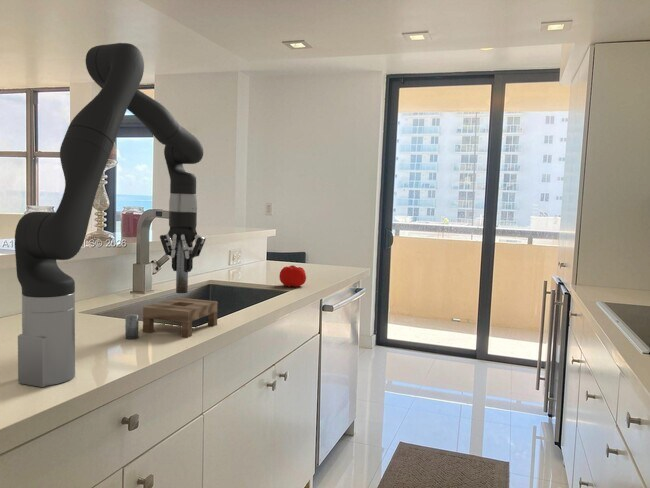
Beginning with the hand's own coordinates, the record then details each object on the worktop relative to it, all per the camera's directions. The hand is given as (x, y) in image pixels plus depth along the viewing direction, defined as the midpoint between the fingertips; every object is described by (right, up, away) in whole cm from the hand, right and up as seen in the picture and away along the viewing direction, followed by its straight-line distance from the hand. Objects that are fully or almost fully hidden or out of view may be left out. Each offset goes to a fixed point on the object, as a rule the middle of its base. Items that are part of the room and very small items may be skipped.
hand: (182, 270), depth 145 cm
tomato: (+26, -11, +83) cm, 88 cm away
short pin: (-10, -17, -10) cm, 22 cm away
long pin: (0, -6, 0) cm, 6 cm away
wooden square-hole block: (-1, -16, +1) cm, 17 cm away
